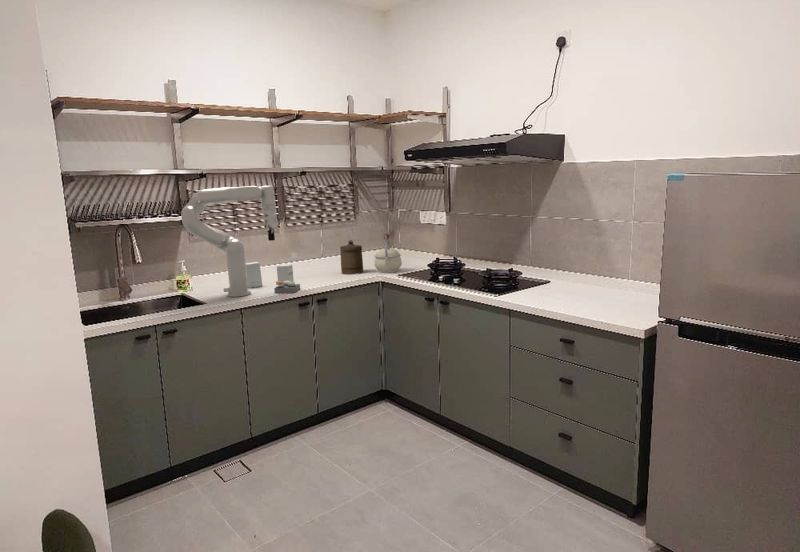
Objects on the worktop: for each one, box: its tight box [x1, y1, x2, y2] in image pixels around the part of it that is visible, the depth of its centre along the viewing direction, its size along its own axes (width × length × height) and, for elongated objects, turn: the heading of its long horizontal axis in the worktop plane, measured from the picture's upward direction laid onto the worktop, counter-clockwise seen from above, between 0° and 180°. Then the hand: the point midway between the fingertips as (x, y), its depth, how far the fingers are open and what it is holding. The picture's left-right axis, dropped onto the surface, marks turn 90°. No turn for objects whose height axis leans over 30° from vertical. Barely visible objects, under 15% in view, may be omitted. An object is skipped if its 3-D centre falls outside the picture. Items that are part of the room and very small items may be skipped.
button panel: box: [273, 283, 301, 294], centre depth 298 cm, size 11×12×3 cm
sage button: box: [288, 281, 296, 286], centre depth 295 cm, size 4×4×2 cm
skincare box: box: [245, 261, 263, 289], centre depth 318 cm, size 8×6×15 cm
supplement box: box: [276, 263, 295, 286], centre depth 316 cm, size 7×7×13 cm
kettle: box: [374, 233, 403, 274], centre depth 350 cm, size 25×18×25 cm
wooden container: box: [339, 239, 364, 275], centre depth 355 cm, size 15×15×22 cm
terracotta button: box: [275, 280, 283, 286], centre depth 294 cm, size 4×4×2 cm
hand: (271, 240), depth 298 cm, fingers closed
